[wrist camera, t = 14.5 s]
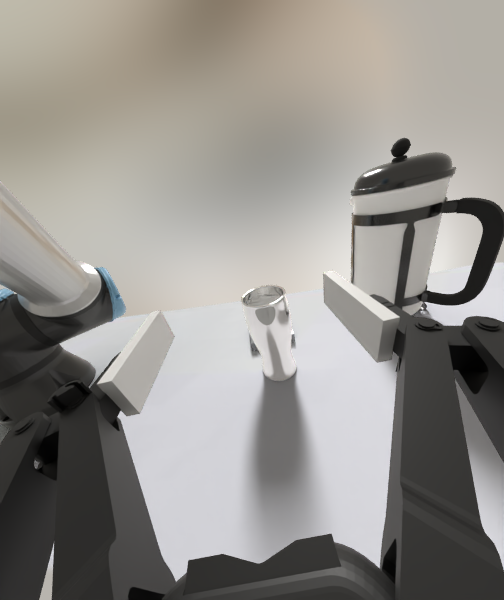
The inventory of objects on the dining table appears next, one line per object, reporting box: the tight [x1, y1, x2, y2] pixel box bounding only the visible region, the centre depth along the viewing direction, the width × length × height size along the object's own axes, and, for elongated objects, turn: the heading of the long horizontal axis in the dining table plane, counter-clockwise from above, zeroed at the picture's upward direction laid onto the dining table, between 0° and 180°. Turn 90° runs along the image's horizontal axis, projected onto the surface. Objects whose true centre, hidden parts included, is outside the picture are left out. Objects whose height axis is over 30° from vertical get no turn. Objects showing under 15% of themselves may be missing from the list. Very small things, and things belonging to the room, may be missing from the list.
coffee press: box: [350, 138, 504, 315], centre depth 33 cm, size 17×16×30 cm
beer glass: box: [241, 285, 296, 381], centre depth 30 cm, size 7×7×15 cm
